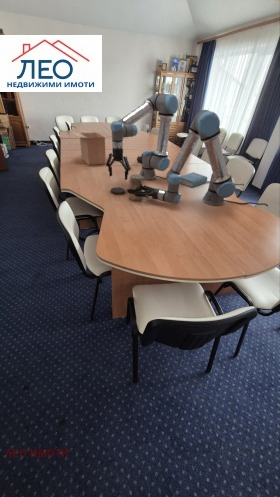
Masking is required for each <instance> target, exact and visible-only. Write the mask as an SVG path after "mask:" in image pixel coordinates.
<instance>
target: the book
mask: <svg viewBox="0 0 280 497" xmlns="http://www.w3.org/2000/svg"><path fill="white" fill-rule="evenodd" d="M207 181H208V176H206V175H203V174H200V173H196V172H195V171H192V172H190V173H186V174H183V175H180V184H181V185H184V186H185V187H186V186H187V187H188V188H194V187H197V186H199V185H202V184H205V183H208V182H207Z"/></svg>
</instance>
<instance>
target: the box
mask: <svg viewBox="0 0 280 497" xmlns="http://www.w3.org/2000/svg"><path fill="white" fill-rule="evenodd" d="M70 133H71V134H72V135H74V136H75V137H77V138H79V144H80V153H81V160H83V162H85V163H86V165H87V166H95V165H97V166H98V165H106V163H107V161H106V158H107V157H106V138H112V134H109V133H108V132H105V131H98V132H96V131H95V130H92V129H91V130H77V132H76V131H70Z"/></svg>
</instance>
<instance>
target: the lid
mask: <svg viewBox="0 0 280 497" xmlns="http://www.w3.org/2000/svg"><path fill="white" fill-rule="evenodd" d="M125 192H126V189H125V188H124V187H119V186H115V187H112V188H110V193H111V194H112V195H116V196H117V195H118V196H120V195H124V194H125Z"/></svg>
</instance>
